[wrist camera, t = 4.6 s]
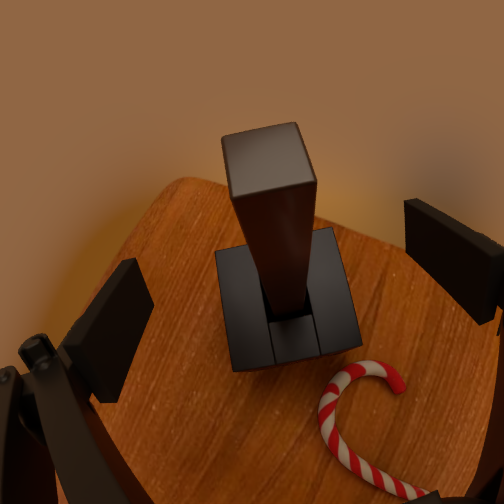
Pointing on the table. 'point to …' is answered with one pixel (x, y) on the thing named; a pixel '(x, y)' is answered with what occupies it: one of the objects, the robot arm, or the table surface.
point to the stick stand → (290, 330)
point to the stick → (274, 208)
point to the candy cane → (336, 442)
